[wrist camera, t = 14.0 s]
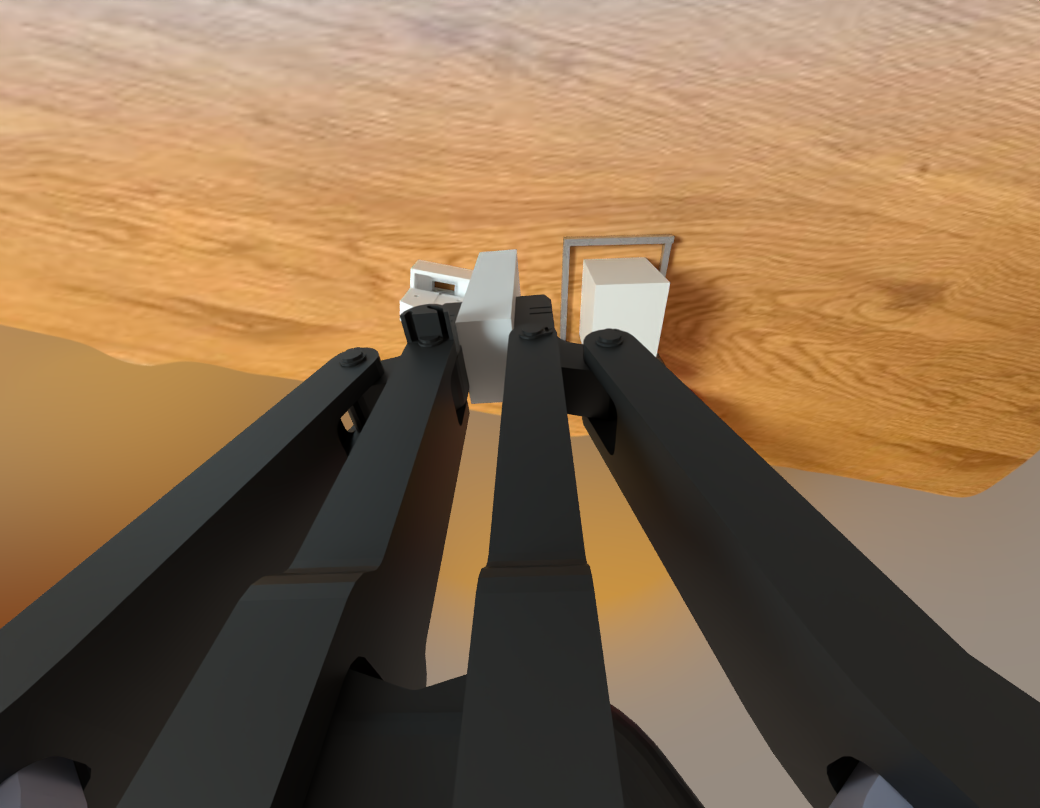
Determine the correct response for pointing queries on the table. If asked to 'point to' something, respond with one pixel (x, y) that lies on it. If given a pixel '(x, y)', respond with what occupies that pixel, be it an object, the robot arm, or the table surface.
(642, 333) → the block
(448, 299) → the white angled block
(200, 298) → the table surface
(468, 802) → the robot arm
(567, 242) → the rail plate
